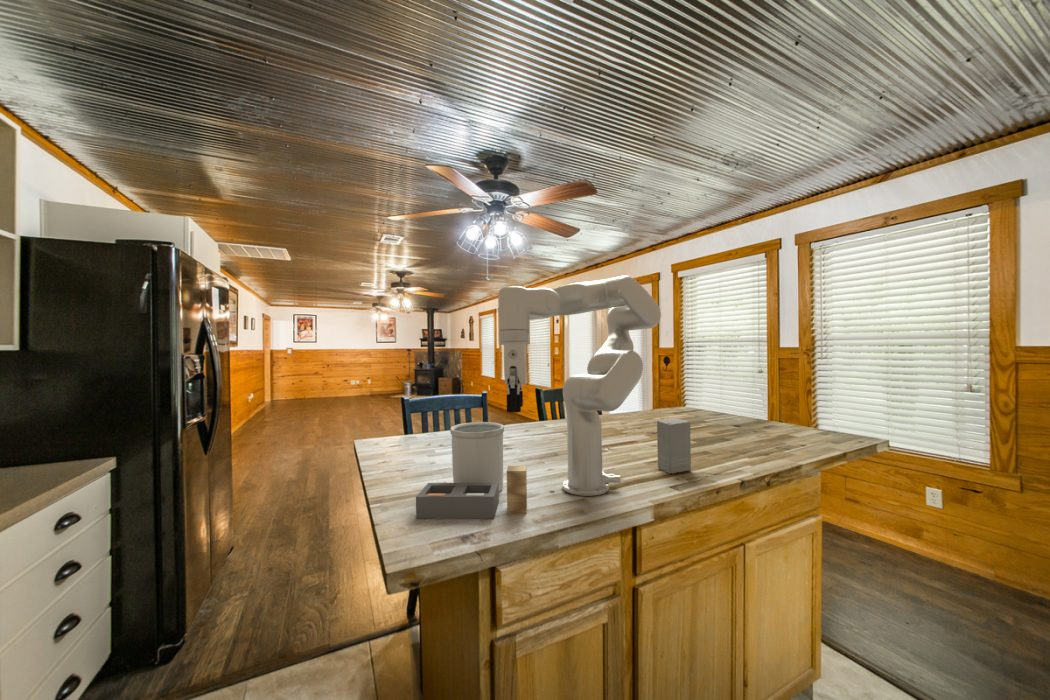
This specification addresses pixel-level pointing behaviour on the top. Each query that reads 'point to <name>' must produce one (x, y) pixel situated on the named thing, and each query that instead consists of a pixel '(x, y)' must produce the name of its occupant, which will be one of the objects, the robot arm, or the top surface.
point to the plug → (516, 490)
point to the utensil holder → (477, 453)
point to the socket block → (457, 501)
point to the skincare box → (674, 445)
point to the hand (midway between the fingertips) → (515, 409)
